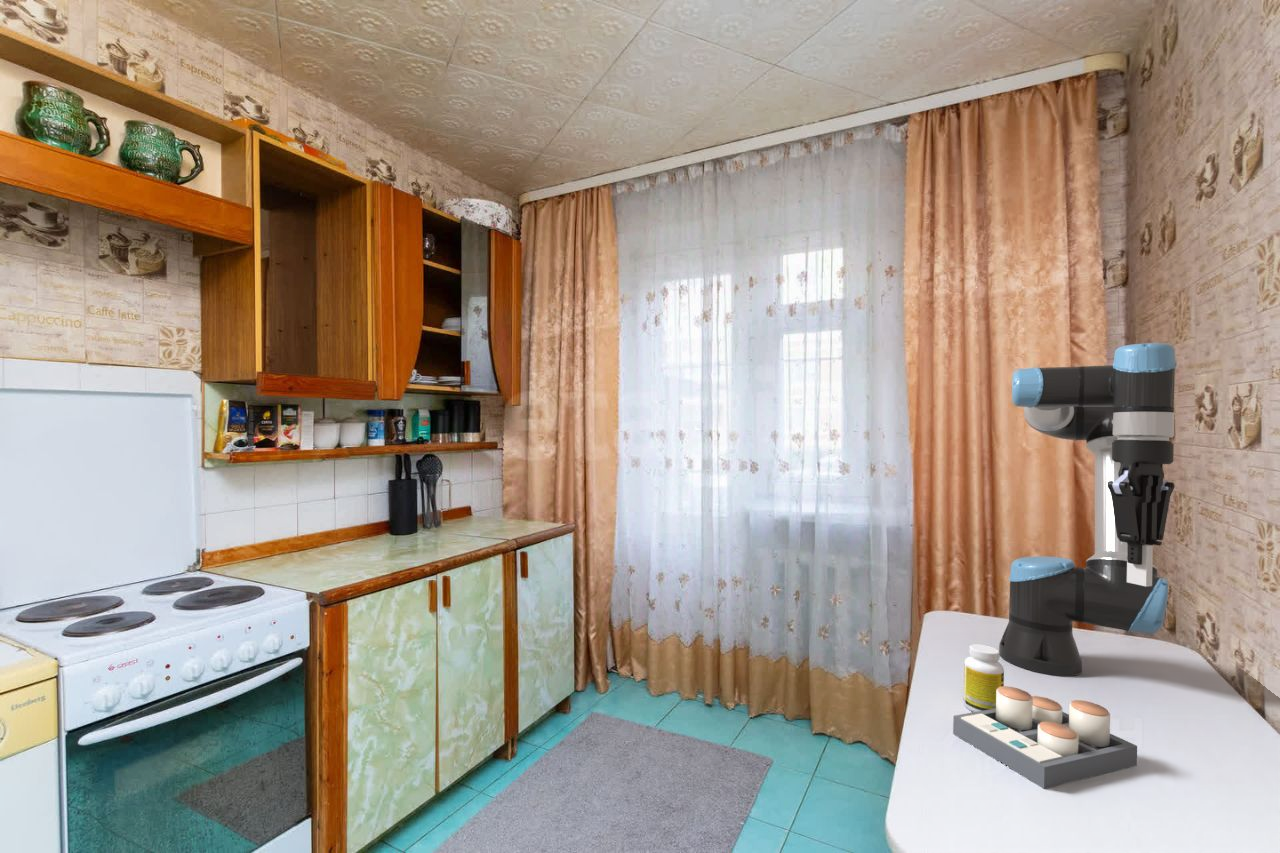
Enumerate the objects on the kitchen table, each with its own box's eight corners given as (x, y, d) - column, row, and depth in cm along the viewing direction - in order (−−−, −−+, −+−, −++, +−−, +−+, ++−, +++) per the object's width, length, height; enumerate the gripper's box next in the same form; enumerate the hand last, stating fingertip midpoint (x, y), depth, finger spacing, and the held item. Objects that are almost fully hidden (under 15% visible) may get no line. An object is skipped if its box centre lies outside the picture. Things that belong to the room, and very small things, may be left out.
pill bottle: (1009, 720, 99) (1010, 657, 99) (970, 715, 100) (972, 653, 100) (994, 703, 105) (996, 644, 105) (958, 699, 106) (959, 640, 106)
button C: (1010, 712, 96) (1010, 684, 96) (1039, 727, 91) (1040, 697, 91) (988, 716, 94) (989, 687, 94) (1017, 731, 89) (1018, 701, 89)
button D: (1051, 749, 89) (1052, 719, 89) (1086, 767, 84) (1086, 735, 84) (1029, 754, 87) (1030, 723, 87) (1062, 773, 83) (1063, 740, 83)
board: (1038, 717, 100) (1039, 698, 100) (1136, 765, 86) (1137, 743, 86) (953, 733, 93) (953, 713, 93) (1044, 788, 79) (1044, 764, 79)
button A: (1039, 721, 98) (1039, 693, 98) (1069, 736, 93) (1070, 707, 93) (1018, 725, 96) (1019, 697, 96) (1048, 741, 91) (1048, 711, 92)
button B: (1082, 727, 91) (1083, 697, 91) (1117, 743, 86) (1118, 712, 87) (1061, 732, 90) (1061, 701, 90) (1095, 748, 85) (1096, 716, 85)
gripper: (1141, 439, 97) (1138, 576, 97) (1089, 437, 93) (1086, 580, 93) (1195, 440, 90) (1193, 587, 90) (1143, 438, 86) (1140, 592, 86)
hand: (1139, 583), depth 91 cm, fingers closed
